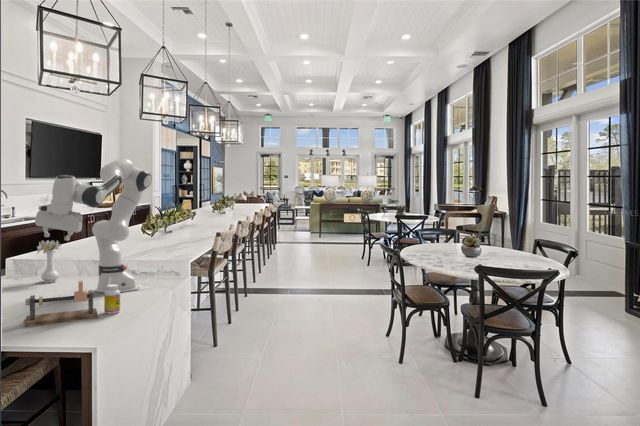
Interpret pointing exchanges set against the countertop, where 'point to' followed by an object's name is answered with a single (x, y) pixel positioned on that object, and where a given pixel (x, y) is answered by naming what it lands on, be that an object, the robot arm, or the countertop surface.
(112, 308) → the supplement bottle
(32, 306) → the towel rod holder
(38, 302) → the dark gray rod
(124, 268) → the robot arm
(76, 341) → the countertop surface
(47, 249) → the flower vase
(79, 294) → the peach stepped block
